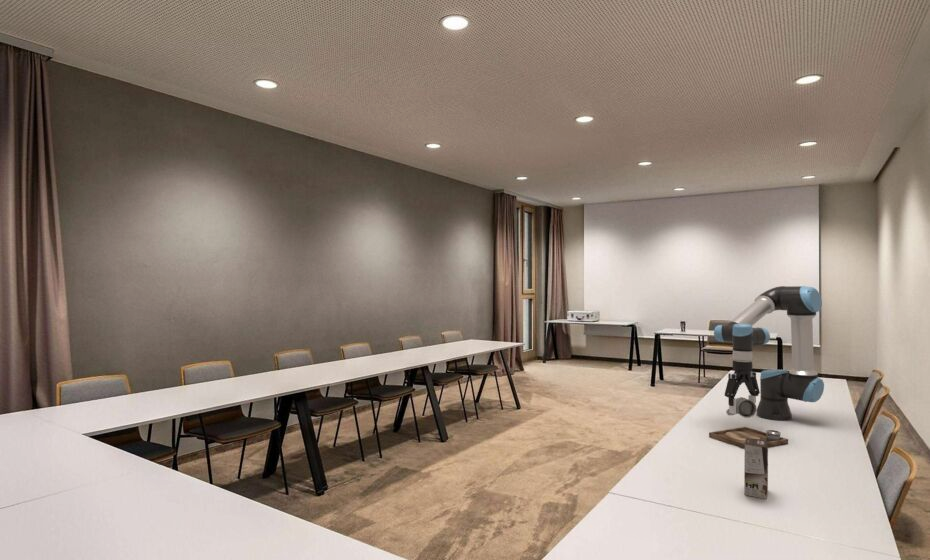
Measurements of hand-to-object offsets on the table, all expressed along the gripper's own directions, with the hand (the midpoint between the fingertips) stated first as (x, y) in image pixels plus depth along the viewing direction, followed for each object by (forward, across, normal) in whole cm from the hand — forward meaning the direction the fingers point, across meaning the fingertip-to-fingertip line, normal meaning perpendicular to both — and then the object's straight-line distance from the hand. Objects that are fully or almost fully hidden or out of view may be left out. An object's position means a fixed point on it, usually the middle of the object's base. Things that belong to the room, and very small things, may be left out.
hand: (742, 412), depth 224 cm
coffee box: (+12, +45, +42) cm, 62 cm away
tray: (+11, 0, +2) cm, 12 cm away
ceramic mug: (+2, 0, 0) cm, 2 cm away
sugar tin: (+11, -7, +9) cm, 16 cm away
